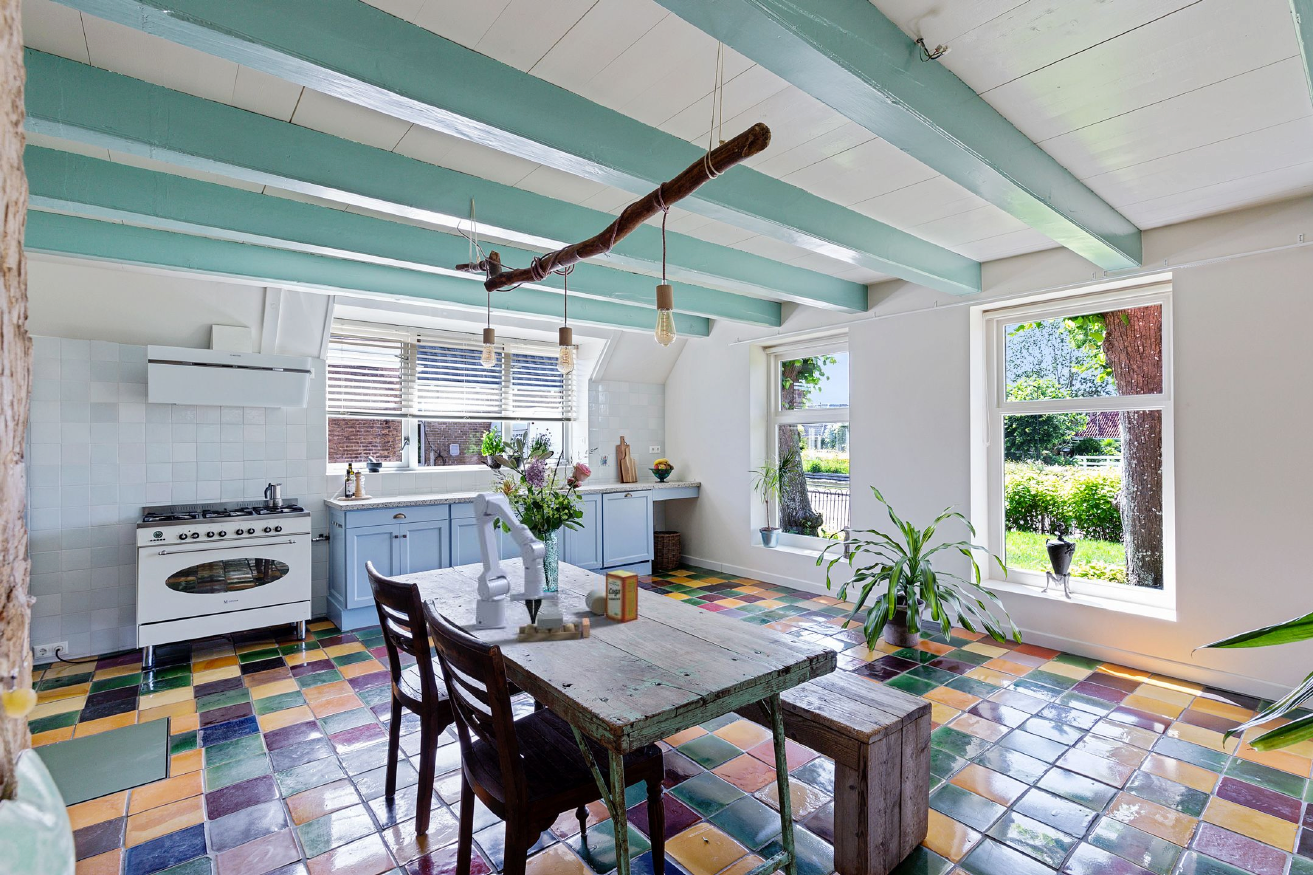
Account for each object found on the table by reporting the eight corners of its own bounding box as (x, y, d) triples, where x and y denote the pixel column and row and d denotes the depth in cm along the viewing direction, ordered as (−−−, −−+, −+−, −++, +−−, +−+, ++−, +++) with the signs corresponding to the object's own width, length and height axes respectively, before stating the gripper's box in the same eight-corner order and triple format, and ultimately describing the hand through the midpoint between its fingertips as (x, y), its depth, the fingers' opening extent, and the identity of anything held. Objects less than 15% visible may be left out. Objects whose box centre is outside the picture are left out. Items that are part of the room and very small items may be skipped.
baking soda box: (605, 617, 221) (605, 571, 221) (619, 613, 225) (619, 568, 225) (623, 623, 214) (623, 576, 214) (637, 619, 218) (637, 573, 218)
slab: (537, 628, 197) (537, 619, 197) (537, 623, 202) (537, 613, 202) (562, 627, 198) (563, 618, 198) (562, 622, 204) (562, 612, 204)
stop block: (583, 637, 199) (583, 624, 199) (581, 630, 206) (582, 618, 206) (589, 636, 199) (589, 624, 199) (588, 630, 206) (588, 617, 206)
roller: (575, 637, 199) (574, 627, 199) (566, 638, 198) (565, 629, 198) (574, 631, 205) (573, 622, 205) (565, 632, 204) (564, 623, 204)
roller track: (518, 641, 194) (518, 631, 194) (519, 632, 203) (519, 622, 203) (580, 638, 197) (580, 628, 197) (578, 629, 206) (578, 619, 206)
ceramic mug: (591, 617, 221) (592, 595, 221) (584, 610, 228) (585, 589, 228) (620, 614, 225) (620, 592, 225) (612, 608, 232) (613, 587, 232)
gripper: (509, 583, 194) (509, 628, 194) (557, 582, 197) (556, 625, 197) (510, 578, 201) (510, 621, 201) (556, 577, 204) (556, 619, 204)
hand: (533, 623), depth 199 cm, fingers closed
